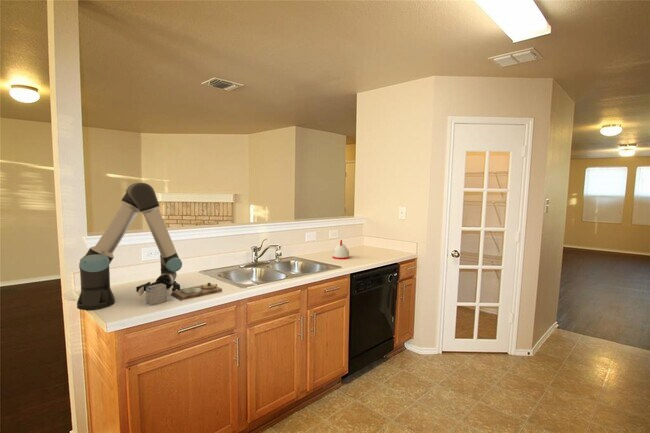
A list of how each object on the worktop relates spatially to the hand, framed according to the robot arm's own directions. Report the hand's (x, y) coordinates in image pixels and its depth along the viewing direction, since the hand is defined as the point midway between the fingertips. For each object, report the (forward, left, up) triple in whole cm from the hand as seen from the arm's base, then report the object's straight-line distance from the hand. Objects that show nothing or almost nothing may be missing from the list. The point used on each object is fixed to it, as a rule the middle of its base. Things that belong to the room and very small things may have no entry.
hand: (154, 292), depth 167 cm
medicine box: (0, +3, -6) cm, 7 cm away
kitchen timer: (+120, +97, -6) cm, 155 cm away
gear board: (+17, +17, -6) cm, 25 cm away
